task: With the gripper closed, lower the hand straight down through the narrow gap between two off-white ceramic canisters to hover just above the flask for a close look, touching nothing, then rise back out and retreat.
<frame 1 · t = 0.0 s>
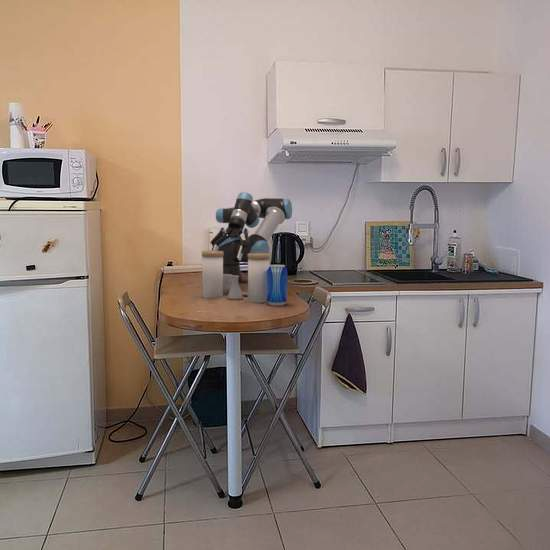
hand: (225, 258, 253), 15 cm above the table, tool tilted 35°, fingers open, 13 cm apart
beer can: (276, 304, 223), on the table
flask: (235, 299, 234), on the table
kettle cord: (242, 296, 241), on the table
canister right: (258, 300, 230), on the table
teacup: (221, 292, 253), on the table
canister left: (212, 296, 239), on the table
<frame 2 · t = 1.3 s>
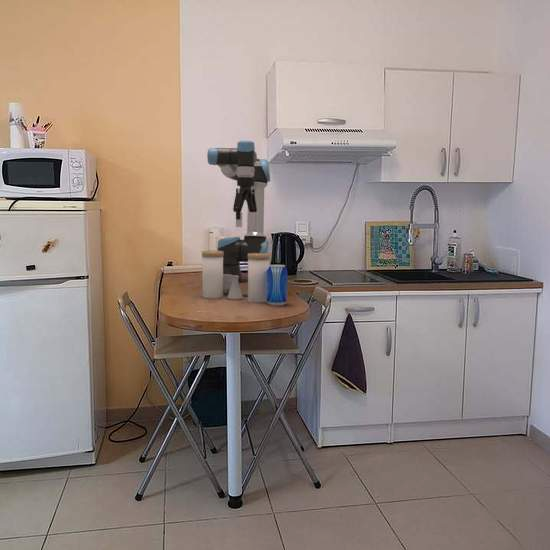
hand: (245, 226, 240), 31 cm above the table, tool pointing down, fingers open, 12 cm apart
nothing on the table moved.
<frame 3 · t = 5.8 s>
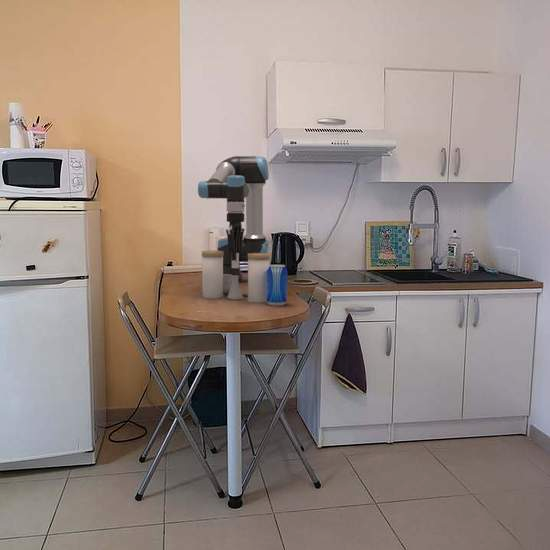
hand: (235, 267, 233), 13 cm above the table, tool pointing down, fingers closed
nothing on the table moved.
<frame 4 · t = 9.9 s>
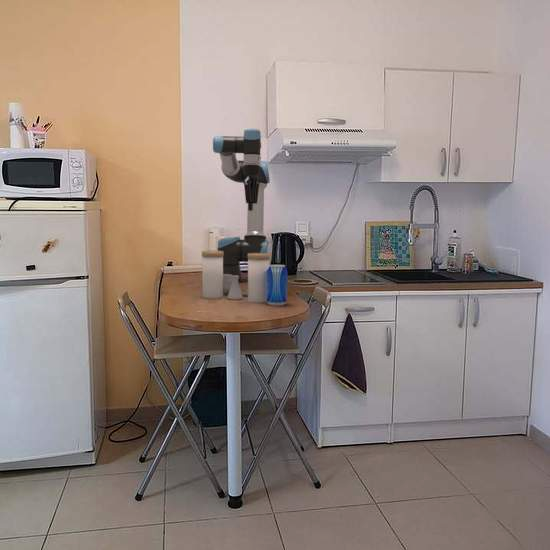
hand: (251, 218, 245), 34 cm above the table, tool pointing down, fingers closed
nothing on the table moved.
at the end: flask moved 0.3 cm from its start; canister left moved 0.0 cm from its start; canister right moved 0.0 cm from its start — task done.
